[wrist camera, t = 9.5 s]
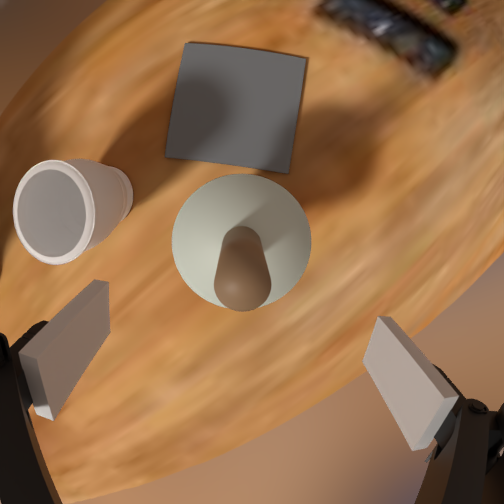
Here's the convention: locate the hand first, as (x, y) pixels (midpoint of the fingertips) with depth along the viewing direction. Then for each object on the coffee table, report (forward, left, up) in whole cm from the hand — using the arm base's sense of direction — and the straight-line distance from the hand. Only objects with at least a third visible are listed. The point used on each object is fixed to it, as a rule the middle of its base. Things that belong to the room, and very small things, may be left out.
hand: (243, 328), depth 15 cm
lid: (0, 0, -17) cm, 17 cm away
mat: (-3, +15, -29) cm, 32 cm away
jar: (-19, +1, -29) cm, 34 cm away
